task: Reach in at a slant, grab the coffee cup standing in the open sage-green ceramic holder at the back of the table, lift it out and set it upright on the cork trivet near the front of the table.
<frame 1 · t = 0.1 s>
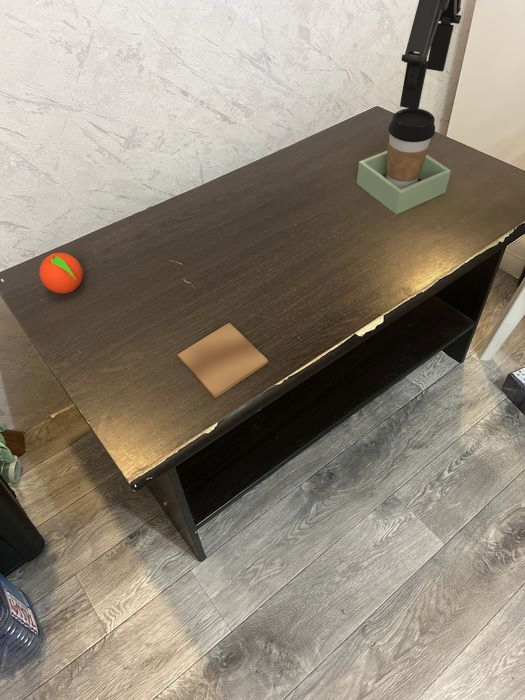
hand: (422, 87, 79), 24 cm above the table, tool pointing down, fingers open, 13 cm apart
holder: (400, 188, 102), on the table
trivet: (222, 360, 77), on the table
coffee cup: (399, 188, 102), resting in holder
clementine: (70, 289, 89), on the table
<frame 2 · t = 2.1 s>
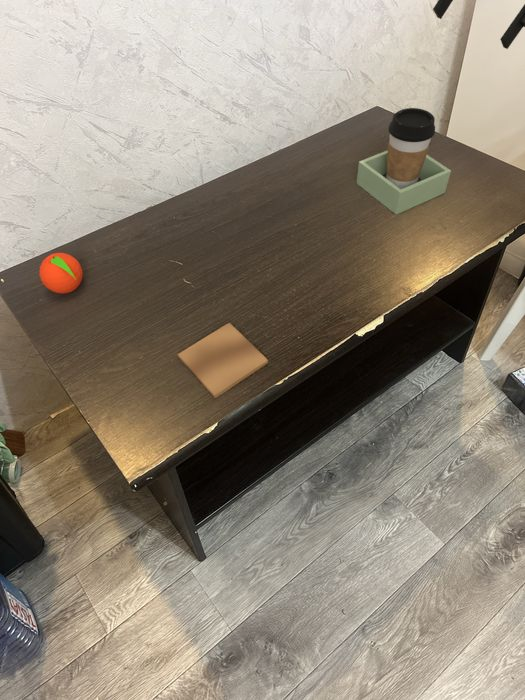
hand: (468, 29, 83), 27 cm above the table, tool tilted 40°, fingers open, 13 cm apart
nothing on the table moved.
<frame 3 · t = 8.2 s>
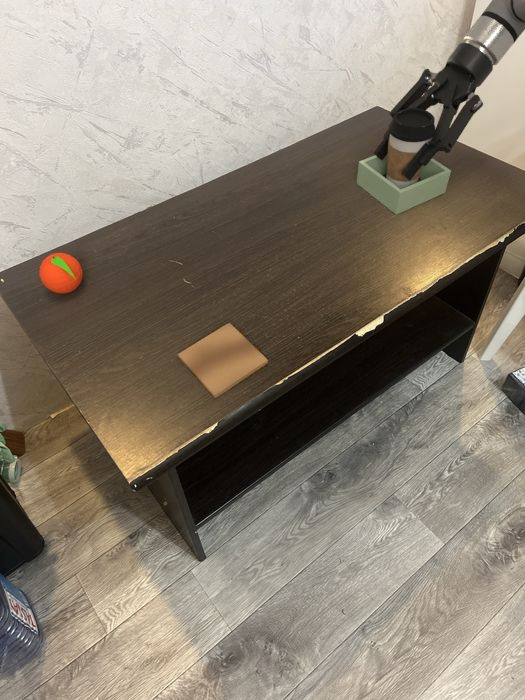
hand: (391, 166, 97), 6 cm above the table, tool tilted 45°, fingers closed on coffee cup, 8 cm apart
coffee cup: (399, 188, 102), resting in holder, touching gripper
everything else where it was.
when the fingers open (7 cm above the table, at t = 21.6 s): coffee cup stays where it is, resting on trivet.
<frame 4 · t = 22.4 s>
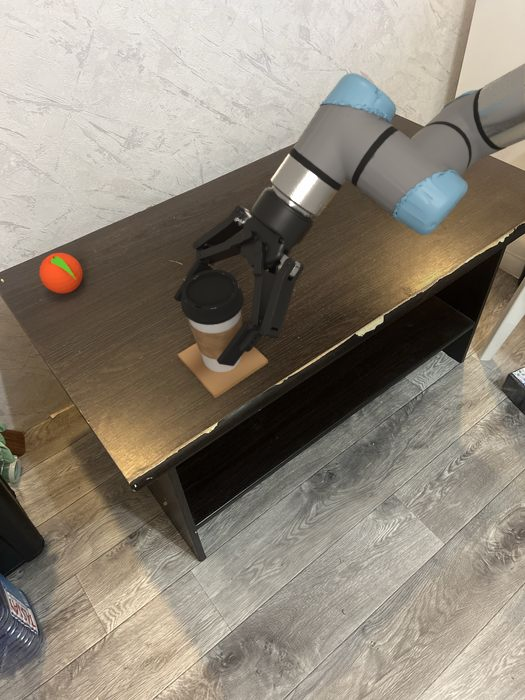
hand: (202, 330, 70), 9 cm above the table, tool tilted 45°, fingers open, 13 cm apart
coffee cup: (222, 357, 77), point 1 cm above the table, touching trivet
everything else where it was.
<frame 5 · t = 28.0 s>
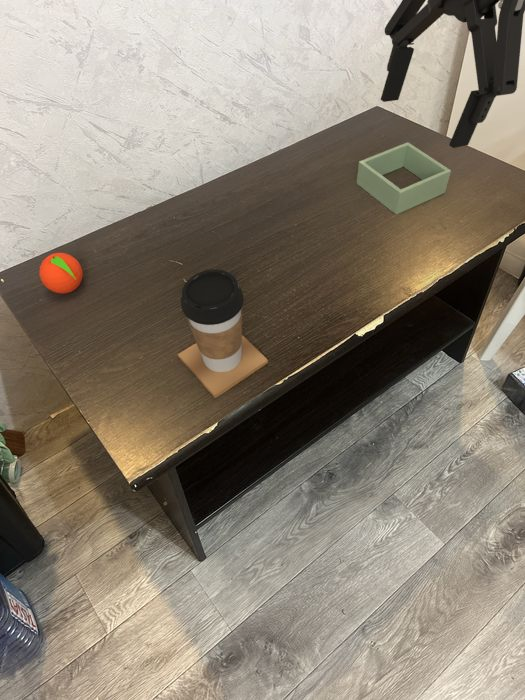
hand: (421, 121, 67), 27 cm above the table, tool pointing down, fingers open, 13 cm apart
nothing on the table moved.
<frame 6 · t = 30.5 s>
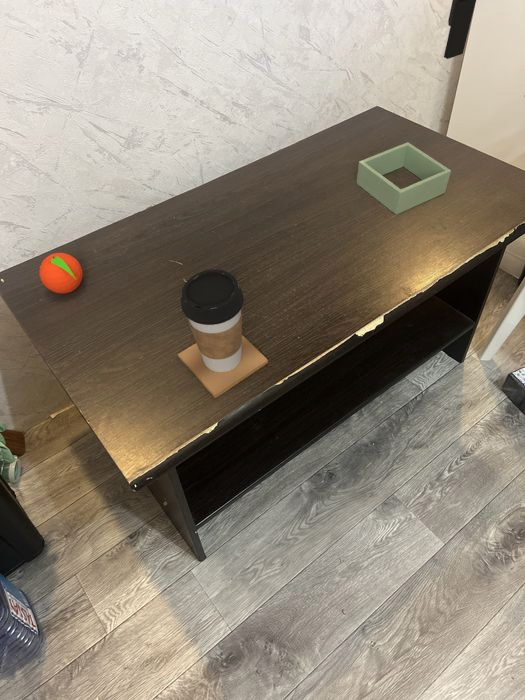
hand: (491, 74, 64), 32 cm above the table, tool pointing down, fingers open, 13 cm apart
nothing on the table moved.
at the end: coffee cup inside the target area on the trivet (0.0 cm from its centre), point 0.6 cm above the trivet's base; coffee cup tilted 0°; coffee cup touching trivet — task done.
